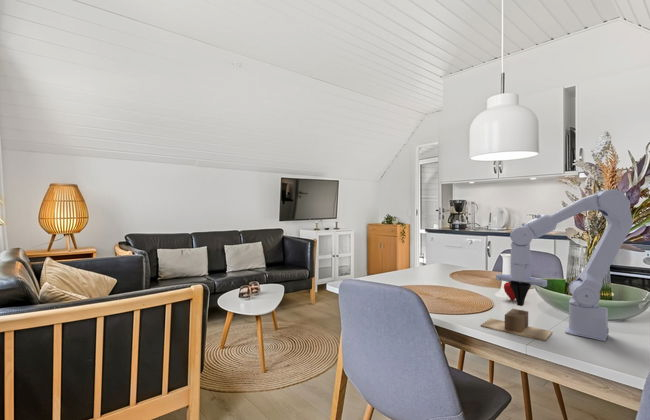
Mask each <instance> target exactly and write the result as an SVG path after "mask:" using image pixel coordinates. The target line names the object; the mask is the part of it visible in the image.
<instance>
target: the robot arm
mask: <svg viewBox="0 0 650 420" xmlns="http://www.w3.org/2000/svg"><path fill="white" fill-rule="evenodd" d="M589 211H590V212H591V211H597V212H600V214H602V216H603V217H604V219H605V220H606V222H607V224H608V225H607V226H606V228H605V230H604V232H603V234H602V235H601V237H600V239H599V241H598V243H597V245H596V247H595V249H594V250H593V252H592V255H590V258H589V260H588V262H587V263H586V265H585V266H584V269H583V270H582V271H581V272H580V273H579V274H578V276H577V277H576V279H574V280H573V281H571V282H570V283H569V285H568V291H569V294H570V295H571V296H572V297H571V298H570V299H569V300H568V327H567V328H566V330H565V333H566V334H570V335H574V336H578V337H583V338H587V339H592V340H597V341H598V340H599V341H601V342H606V341H607V338H608V335H609V331H610V330H609V320H608V319H609V316H608V315H609V313H608V312H609V311H608V308H607V307H604V306H600V305H599V302H600V299H601V290H602V288H603V284H604V283H603V282H604V281H603V280H604V278H605V276H606V274H607V272H608V271H609V269H610V267H611V266H612V263H613V261H614V260H615V258H616V256H617V254H618V253H619V251H620V249H621V248H622V245H623V244H624V242H625V240H626V238H627V236H629V235H628V234H629V233H630V231H631V230H632V227H633V225H634V221H633V216H632V211H631V201H630V199H629V198H628V197H627V195H626V194H625V193H624V192H623V191H621V190H618V189H613V188H611V189H607V190H600V191H597V192H595V194H590V195H587V196H584V197H582V198H579V199H578V200H575V201H574V202H572V203H570V204H569V205H567V206H564V207H563V208H561V209H559V210H558V211H556V212H554V213H552V214H546V213H543V214H537V215H536V216H535V218H533V219H531V220H529V221H527V222H526V223H525V222H522V223H520V225H521V226H518V227H515V228H513V229H512V231H510V234H509V238H510V239H511V243H510V247H511V249H510V274H504V273H503V274H501V273H497V274H496V275H495V281H498V282H499V281H502V282H506V281H508V282H511V284H510V287H511V288H512V290H513V292H514V295H515V297H516V299H515V300H516V305H517V306H518V307H519V306H520V307H523V306H524V304H525V300H526V296H527V294H528V292H529V290H530V289H531V287H532V286H539V287H542V288H546V287H547V286H548V279H542V278H539V277H532V276H531V275H532V274H531V273H532V271H531V270H532V269H531V268H532V267H531V266H532V251H531V242H532V240H534V239H535V240H536V239H538V238H541V237H542V236H544V235H546V234H548V233H551V232H553V231H555V230H556V228H557V225H558V224H560V223H562V222H563V221H565V220H568V219H570V218H572V217H574V216H577V215H579V214H581V213H583V212H589Z"/></svg>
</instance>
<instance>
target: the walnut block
mask: <svg viewBox="0 0 650 420" xmlns="http://www.w3.org/2000/svg"><path fill="white" fill-rule="evenodd" d="M504 321H505V329H506V330H511V331H515V332H519V333H521V332H522V331H523V330H524V329H525V328H526V327H527V326H529V311H528V310H523V309H518V308H512V309H511V310H509V311H507V313H505V314H504Z"/></svg>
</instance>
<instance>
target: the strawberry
mask: <svg viewBox="0 0 650 420" xmlns="http://www.w3.org/2000/svg"><path fill="white" fill-rule="evenodd" d="M505 282H506V283H504V284H503V290H504V293H505V294H506V296H508V298H509V299H510V301H515V300H516V297H515V295H514V292H513V290H512V288H511V287H510V284H511V282H508V281H505Z"/></svg>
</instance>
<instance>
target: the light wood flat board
mask: <svg viewBox="0 0 650 420" xmlns="http://www.w3.org/2000/svg"><path fill="white" fill-rule="evenodd" d="M480 327H483V328H486V329H491V330H495V331H499V332H503V333H506V334H507V333H508V334H512V335H515V336H521V337H525V338H530V339H533V340H538V341H542V342H547V340H548V339H549V338H550V336H551V335H552V334H553V331H552V330H547V329H544V328H543V329H542V328H538V327H534V326H529V325H528V326H527V327H526V328H525V329H524V330H523V331H522V332H521V333H519V332H515V331H511V330H506V329H505V320H500V319H496V318H493V317H491V318H490V317H489V319H487V320H486V321H484V322H483V323H482V324H480Z"/></svg>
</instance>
